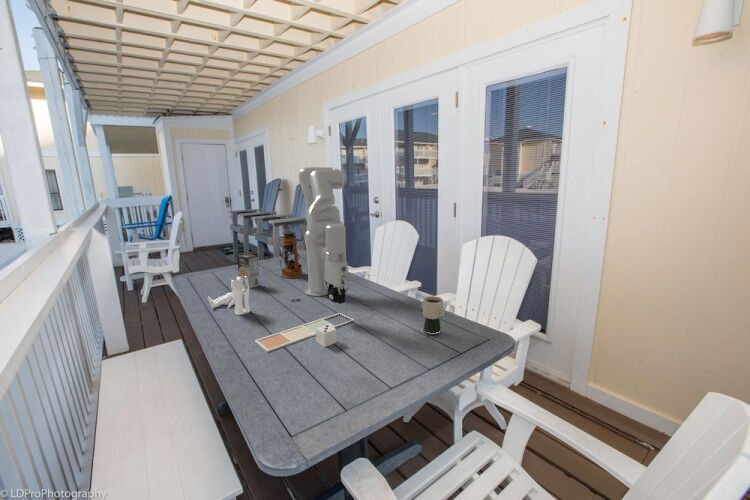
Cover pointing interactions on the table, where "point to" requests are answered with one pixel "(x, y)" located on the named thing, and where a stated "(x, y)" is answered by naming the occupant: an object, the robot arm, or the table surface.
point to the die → (326, 335)
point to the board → (295, 334)
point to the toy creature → (222, 300)
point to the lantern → (292, 267)
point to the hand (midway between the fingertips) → (336, 299)
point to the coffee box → (249, 268)
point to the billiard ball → (334, 294)
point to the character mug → (432, 313)
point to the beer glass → (240, 294)
